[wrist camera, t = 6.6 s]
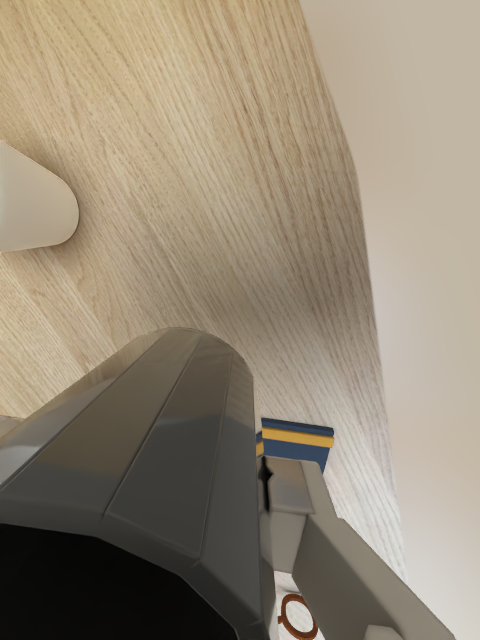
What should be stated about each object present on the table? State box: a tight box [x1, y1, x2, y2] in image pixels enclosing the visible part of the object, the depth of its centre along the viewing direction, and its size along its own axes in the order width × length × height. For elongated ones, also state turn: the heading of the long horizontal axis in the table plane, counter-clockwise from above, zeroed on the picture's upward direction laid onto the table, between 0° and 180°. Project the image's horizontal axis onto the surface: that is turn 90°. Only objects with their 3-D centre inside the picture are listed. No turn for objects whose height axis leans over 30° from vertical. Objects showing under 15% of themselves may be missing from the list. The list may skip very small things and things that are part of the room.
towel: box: [261, 418, 334, 475], centre depth 30 cm, size 22×10×1 cm, turn 82°
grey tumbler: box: [0, 327, 279, 640], centre depth 7 cm, size 6×6×7 cm
